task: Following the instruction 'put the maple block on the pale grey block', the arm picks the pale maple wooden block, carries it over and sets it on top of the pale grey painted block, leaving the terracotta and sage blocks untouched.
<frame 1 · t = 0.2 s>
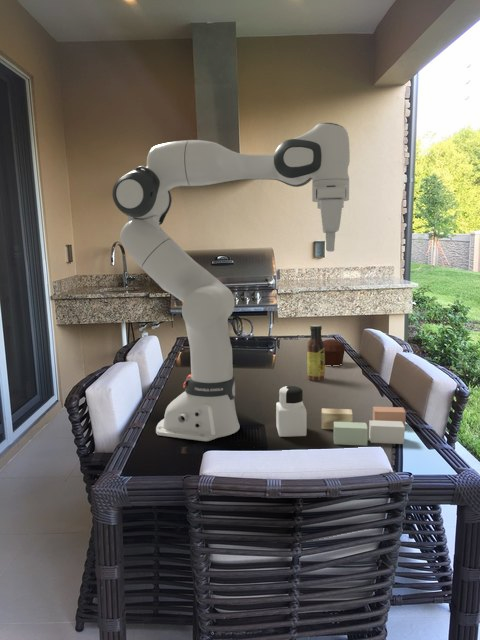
hand: (330, 251, 123), 47 cm above the table, tool pointing down, fingers open, 8 cm apart
muffin: (331, 364, 204), on the table
maple block: (336, 427, 135), on the table
sauce bottle: (315, 379, 181), on the table
grey block: (386, 440, 125), on the table
sage block: (350, 442, 124), on the table
terracotta block: (388, 425, 135), on the table
medicine bottle: (291, 432, 132), on the table
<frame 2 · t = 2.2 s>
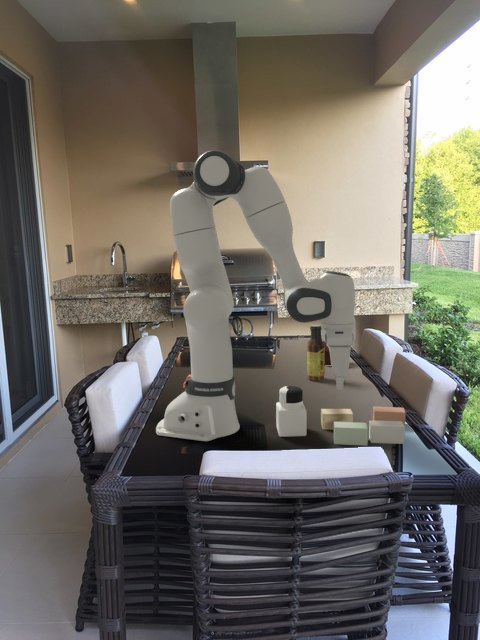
hand: (339, 383, 133), 12 cm above the table, tool pointing down, fingers open, 8 cm apart
nothing on the table moved.
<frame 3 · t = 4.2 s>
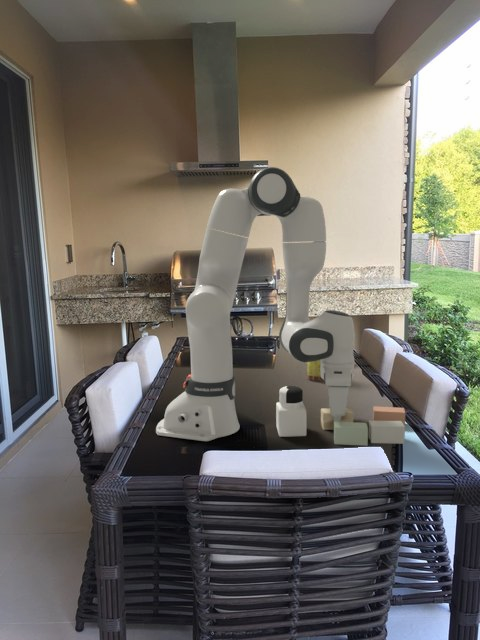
hand: (336, 420, 134), 2 cm above the table, tool pointing down, fingers closed on maple block, 4 cm apart
maple block: (336, 426, 135), on the table, touching gripper
everything else where it was.
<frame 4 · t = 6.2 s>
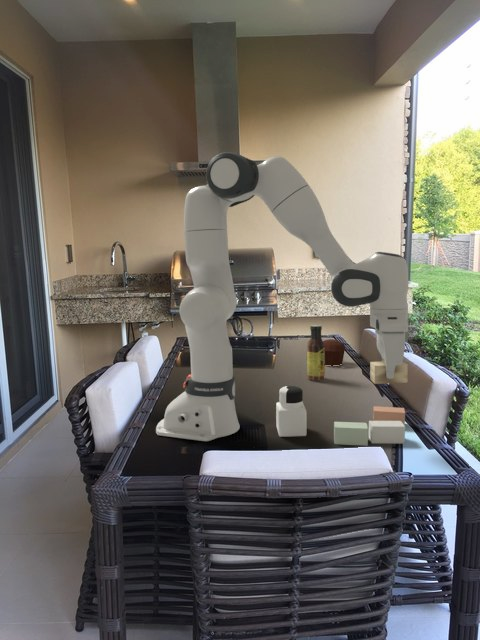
hand: (388, 374, 123), 17 cm above the table, tool pointing down, fingers closed on maple block, 4 cm apart
maple block: (388, 380, 123), point 15 cm above the table, touching gripper
everything else where it was.
when the fingers open (8 cm above the table, at t = 8.3 s): maple block drops 2 cm, point 4 cm above the table.
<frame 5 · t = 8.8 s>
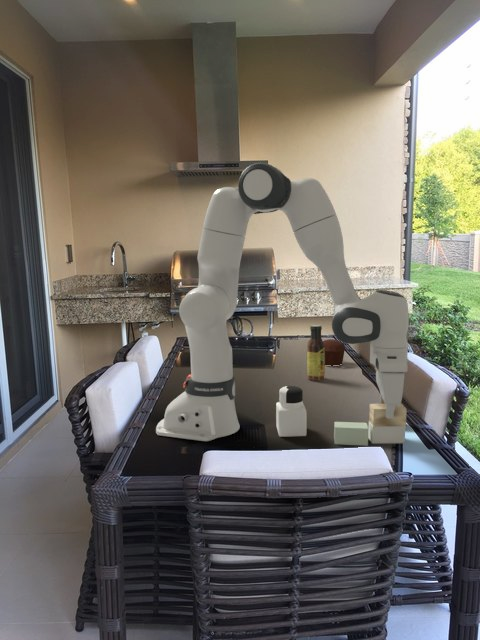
hand: (386, 411, 124), 8 cm above the table, tool pointing down, fingers open, 8 cm apart
maple block: (387, 423, 124), point 4 cm above the table
everything else where it was.
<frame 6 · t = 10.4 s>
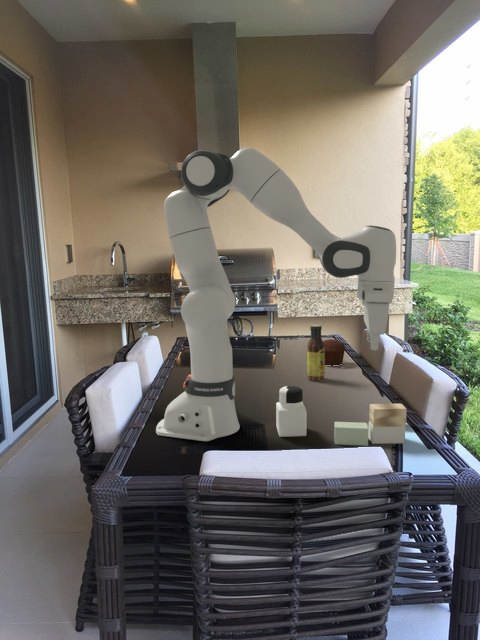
hand: (372, 345, 127), 23 cm above the table, tool pointing down, fingers open, 8 cm apart
maple block: (387, 423, 124), point 4 cm above the table, touching grey block
grey block: (386, 440, 125), on the table, touching maple block
everything else where it was.
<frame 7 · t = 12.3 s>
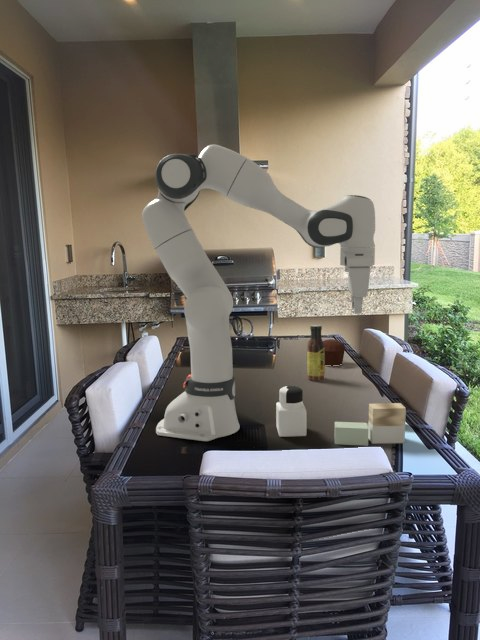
hand: (356, 310, 133), 31 cm above the table, tool pointing down, fingers open, 8 cm apart
maple block: (386, 423, 124), point 4 cm above the table
grey block: (386, 440, 125), on the table
everything else where it was.
at the end: maple block 0.0 cm off-centre on the grey block, point 4.5 cm above the grey block's base; terracotta block moved 0.2 cm from its start; sage block moved 0.3 cm from its start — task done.
